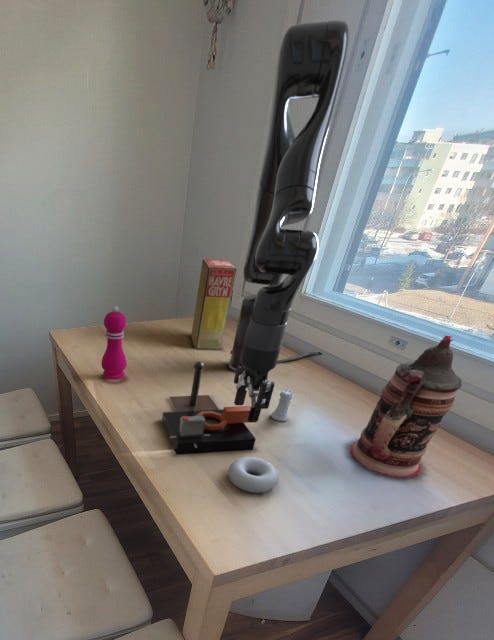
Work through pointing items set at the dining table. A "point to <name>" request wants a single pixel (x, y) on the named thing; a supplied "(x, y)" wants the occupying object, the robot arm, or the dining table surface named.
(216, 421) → the burner
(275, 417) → the rook chess piece
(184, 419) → the knob
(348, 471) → the dining table surface
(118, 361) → the pepper mill
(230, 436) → the stove
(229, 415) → the hanging ring
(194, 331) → the food packaging
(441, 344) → the beer stein
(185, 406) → the peg stand
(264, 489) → the donut
